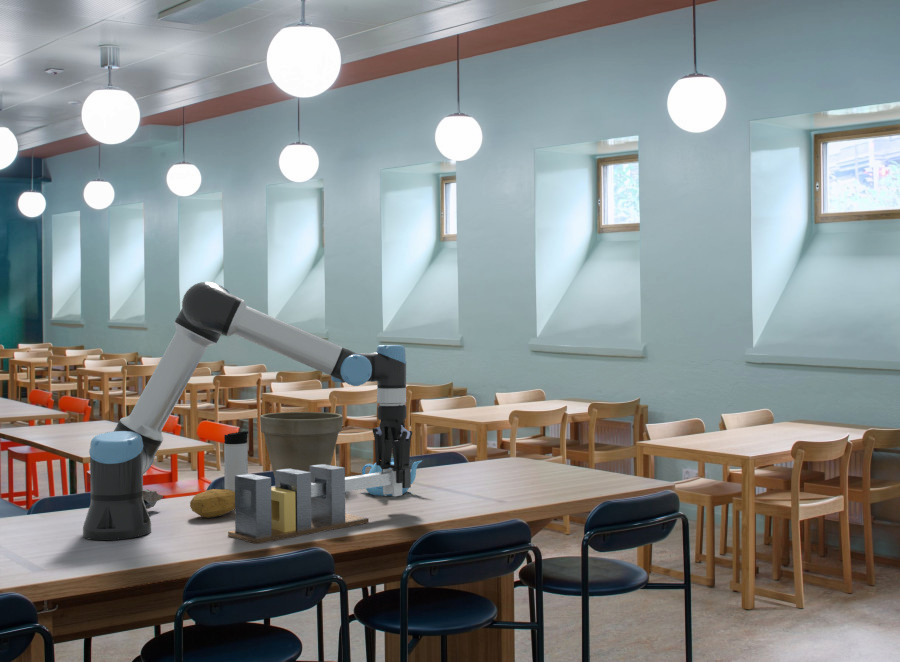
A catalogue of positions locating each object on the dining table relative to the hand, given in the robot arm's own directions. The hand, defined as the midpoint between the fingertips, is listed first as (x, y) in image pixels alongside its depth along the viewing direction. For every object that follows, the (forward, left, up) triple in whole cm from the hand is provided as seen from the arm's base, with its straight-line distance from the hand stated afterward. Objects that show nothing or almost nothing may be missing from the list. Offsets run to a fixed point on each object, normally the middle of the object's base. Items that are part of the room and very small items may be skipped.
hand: (392, 494), depth 247 cm
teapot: (+18, +22, -5) cm, 29 cm away
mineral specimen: (-46, +48, -5) cm, 67 cm away
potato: (-35, +29, -5) cm, 46 cm away
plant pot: (+8, +52, -5) cm, 53 cm away
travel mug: (-22, +40, -5) cm, 46 cm away
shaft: (-14, 0, +2) cm, 14 cm away
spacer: (-35, 0, -4) cm, 35 cm away
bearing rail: (-29, 0, -5) cm, 29 cm away
